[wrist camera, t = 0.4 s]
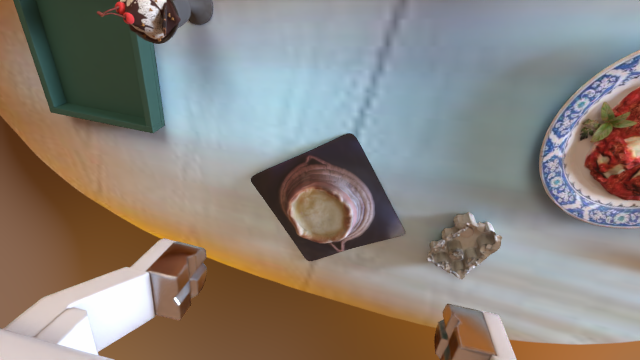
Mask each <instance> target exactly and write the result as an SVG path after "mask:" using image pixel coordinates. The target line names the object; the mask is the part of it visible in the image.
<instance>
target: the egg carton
mask: <svg viewBox="0 0 640 360" xmlns="http://www.w3.org/2000/svg"><path fill="white" fill-rule="evenodd" d="M454 223H455V226H454V227H452V228H444V230H443V231H442V240H440V241H432V242H431V243H430V247H431V252H429V253H428V255H429V256H428V258H427V260H428V261H432V262H434V263H435V265H436V266H438V267H441V268H442V269H443V270H446V271H447V272H449V273H453V274H454V275H455V276H456V277H458V278H459V279H463V278H464V277H465V276H466V275H467V274H468V273H469V271H470V270H471V269H474V267H475V266H479V265H480V263H481V262H482V261H483V260H485V259H486V258H487V257H488V256H489V255H490V254H492V253H494V252H495V251H497V250H498V249H499V248H500V245H501V239H502V237H501V236H500V235H496V234H495V232H494V229H493V226H492V225H491V224H490V223H489V222H488V221H486V222H484V223H481V222H479V223H476V221H475V218H474V215H473V214H471V213H469V212H468V213H466V214H464V215H456V216H455V217H454Z"/></svg>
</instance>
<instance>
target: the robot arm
mask: <svg viewBox="0 0 640 360" xmlns="http://www.w3.org/2000/svg"><path fill="white" fill-rule="evenodd" d="M205 259H206V250H205V249H204V248H201V247H197V246H193V245H189V244H185V243H181V242H176V241H172V240H168V239H165V238H164V239H161V240H159V241H158V242H157V243H156V244H155V245H154V246H152V247H151V248H150V249H149V250H148V251H147V252H146V253H145V254H144V255H143V256H142V257H141V258H140V259H139V260H138V261H137V262H135V263H134V264H133V265H132V266H131V267H130V268H128V267H124V268H121V269H119V270H116V271H113V272H111V273H108V274H105V275H102V276H100V277H97V278H94V279H91V280H89V281H86V282H83V283H81V284H78V285H75V286H72V287H70V288H67V289H65V290H62V291H59V292H56V293H53V294H51V295H48V296H45V297H43V298H42V299H40V300H39V301H38V302H36V303H35V304H34V305H33V306H31V307H30V308H29V309H27V310H26V311H25V312H24V313H22V314H21V315H20V316H19V317H17V318H16V319H15V320H14V321H12V322H11V323H10V324H9V325H7V326H6V327H5V328H3V329H1V328H0V360H113V359H109V358H106V357H102V356H99V355H98V351H100V350H101V349H103V348H105V347H106V346H108V345H110V344H111V343H113V342H115V341H116V340H118V339H119V338H121V337H123V336H124V335H125V334H128V333H129V332H131V331H133V330H134V329H136V328H137V327H139V326H141V325H142V324H144V323H145V322H147V321H149V320H150V319H152V318H154V317H155V315H157V316H162V317H166V318H171V319H175V320H181V318H182V317H183V316H184V314H185V313H186V311H187V310H188V308H189V307H190V306H191V298H193V297H195V296H197V295H198V294H199V293H200V291H201V290H202V288H203V286H204V283H205V281H206V276H207V268H206V266H205V265H204V263H203V261H204V260H205ZM443 317H444V319H443V320H442V321H440V322H439V323H438V325H437V328H436V333H435V352H436V354H437V355H438V357H439V358H440V360H517V359H516V357H515V354H514V352H513V349H512V346H511V344H510V341H509V339H508V336H507V334H506V331H505V328H504V326H503V323H502V321H501V318H500V316H499V315H498V314H494V313H489V312H485V311H479V310H474V309H470V308H465V307H461V306H456V305H452V304H447V305H446V306H445V308H444V310H443Z"/></svg>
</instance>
